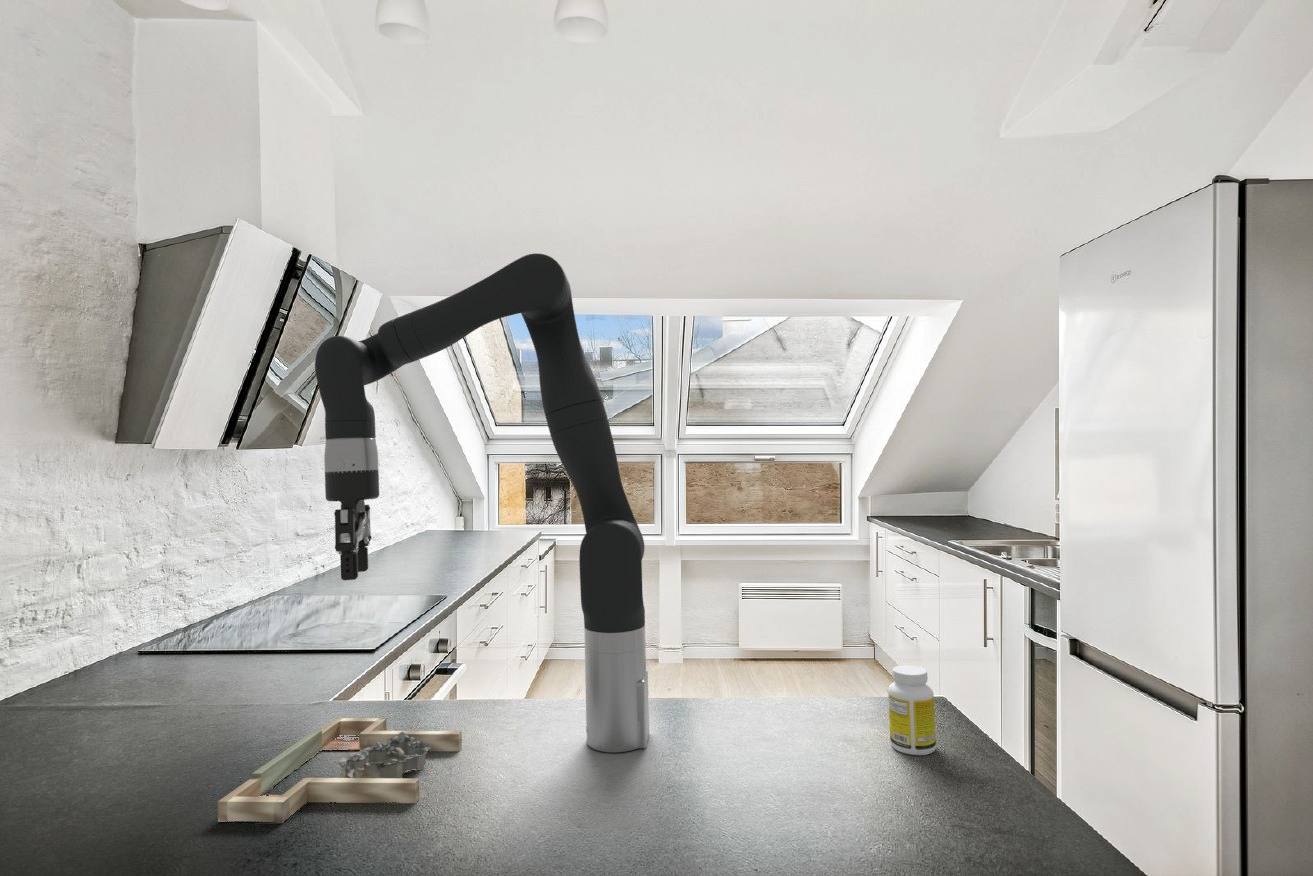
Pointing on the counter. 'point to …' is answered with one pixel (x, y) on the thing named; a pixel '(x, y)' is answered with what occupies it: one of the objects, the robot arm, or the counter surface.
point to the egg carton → (385, 759)
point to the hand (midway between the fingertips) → (355, 575)
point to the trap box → (340, 790)
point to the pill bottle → (911, 711)
